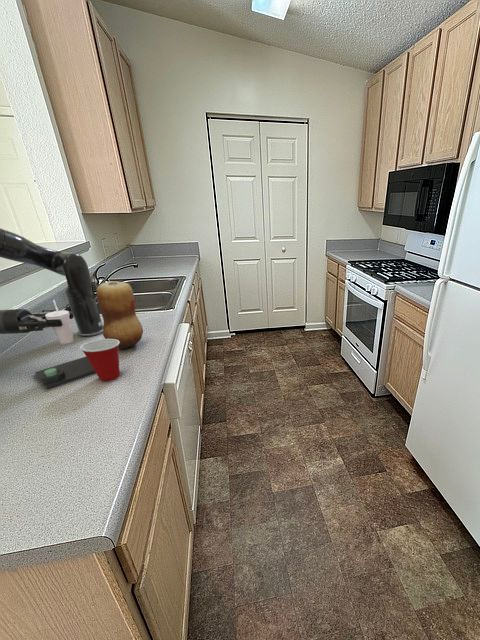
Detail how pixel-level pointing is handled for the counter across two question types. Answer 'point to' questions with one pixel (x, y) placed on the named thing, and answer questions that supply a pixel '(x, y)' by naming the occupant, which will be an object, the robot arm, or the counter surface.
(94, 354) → the plastic cup
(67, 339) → the smoothie
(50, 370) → the button
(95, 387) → the counter surface
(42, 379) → the scale
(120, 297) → the butternut squash
